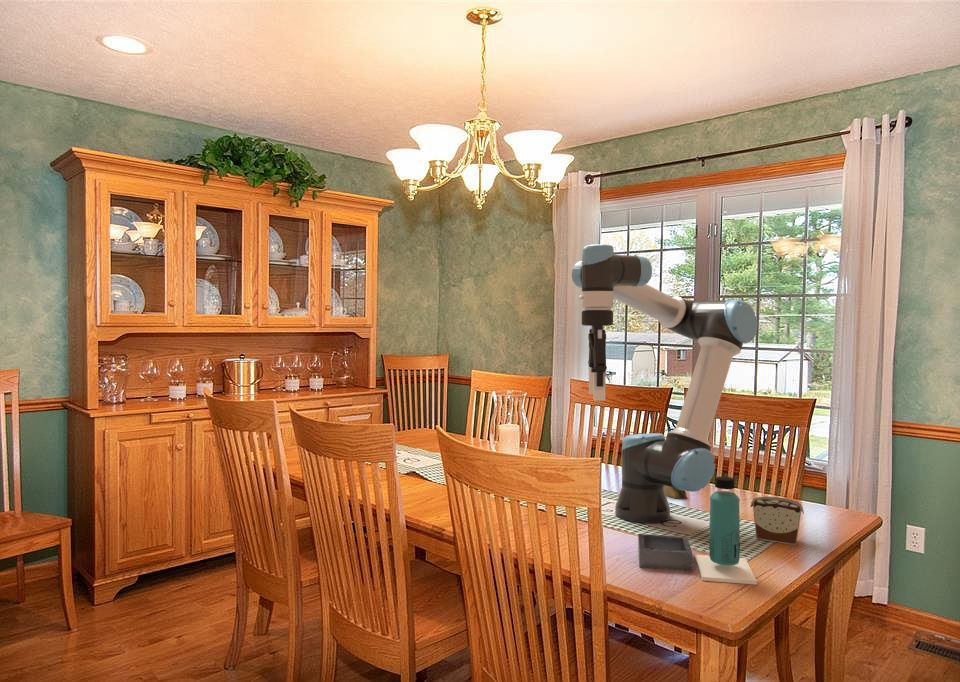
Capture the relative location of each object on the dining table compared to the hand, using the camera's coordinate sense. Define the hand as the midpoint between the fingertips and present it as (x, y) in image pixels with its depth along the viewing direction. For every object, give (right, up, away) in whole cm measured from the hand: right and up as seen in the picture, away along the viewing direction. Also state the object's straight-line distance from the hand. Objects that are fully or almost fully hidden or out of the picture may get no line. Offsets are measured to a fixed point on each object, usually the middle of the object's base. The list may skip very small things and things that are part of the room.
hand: (596, 397), depth 166 cm
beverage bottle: (+26, -37, -14) cm, 47 cm away
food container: (+47, -37, +8) cm, 60 cm away
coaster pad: (+26, -37, -14) cm, 48 cm away
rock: (+32, -35, +51) cm, 70 cm away
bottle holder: (+14, -37, -8) cm, 40 cm away
